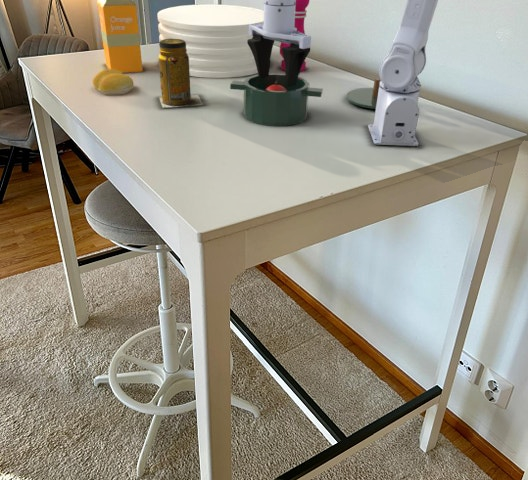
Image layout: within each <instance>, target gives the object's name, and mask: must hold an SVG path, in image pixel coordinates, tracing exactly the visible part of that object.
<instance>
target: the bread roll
mask: <svg viewBox="0 0 528 480" xmlns="http://www.w3.org/2000/svg"><path fill="white" fill-rule="evenodd" d="M92 85H93V87H94V89H95V90H96V91H98V92H100V93H101V94H104V95H107V96H110V95H113V96H114V95H116V96H117V95H124V94H127V93H129V92H131V91H132V90H133V89H134V80H133V79H132V77H131V76H129V75H128V74H124V73H121V72H119V71H117V70H114V69H108V68H105V69H102V70H100V71H99V72H97V73H96V74H95V75H94V77H93V78H92Z"/></svg>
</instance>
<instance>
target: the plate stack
mask: <svg viewBox="0 0 528 480" xmlns="http://www.w3.org/2000/svg"><path fill="white" fill-rule="evenodd" d="M157 22H158V24H157V27H158V33H159V36H158V40H159V42H160V41H161V40H164V39H181V40H184V41H185V42H186V49H187V52H186V53H187V55H188V57H189V73H190V77H195V78H208V79H212V78H213V79H224V78H225V79H227V78H240V77H246V76H253V75H257V74H258V71H257V67H256V63H255V59H254V56H253V54H252V51H251V49H250V47H249V45H248V44H247V40H248V39H252V37H253V36H250V35H249V24H255V23H257V24H264V9H263V10H262V9H260V8H255V7H250V6H243V5H233V4H213V3H212V4H211V3H210V4H207V3H206V4H185V5H177V6H171V7H168V8H163V9H161V10H159V11H158V12H157Z"/></svg>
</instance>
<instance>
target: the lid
mask: <svg viewBox="0 0 528 480" xmlns="http://www.w3.org/2000/svg"><path fill="white" fill-rule="evenodd" d="M373 81H374V82H373V87H361V88H354V89H351V90H349V91H348V92H346V94H345V99H346V100H347V101H348V102H349V103H350V104H352V105H355V106H358V107H362V108H366V109H372V110H376V105H377V98H378V91H379V85H380V81H381V79H380V76H378V77H375V78H374V80H373Z"/></svg>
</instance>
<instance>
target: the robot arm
mask: <svg viewBox="0 0 528 480" xmlns="http://www.w3.org/2000/svg"><path fill="white" fill-rule="evenodd" d="M438 2H439V0H406V3H405V6H404V10H403V14H402V18H401V21H400V24H399V27H398V30H397V32H396V34H395V36H394V39H393V41H392V43H391V47H390V50H389V51H388V53H387V55H386V56H385V57H384V58H383V60H382V61H381V63H380V65H379V70H378V73H379V74H378V75H379V77H380V79H381V81H380V85H379V91H378V98H377V105H376V109H375V112H374V119H373V124H371V123H370V124H368V125H367V128H368V131H369V133H370V136H371V139H372V142H373V144H374V145H379V146H402V147H418V146H419V143H420V142H418V139H417V138H416V131H417V127H418V122H419V121H418V120H419V115H420V108H419V104H418V103H419V97H420V92H421V86H422V84H421V81H420V79H419V77H418V76H419V75H420V74H422V72H423V71H424V69H425V67H426V64H427V54H426V47H427V43H428V40H429V30H430V27H431V25H432V21H433V18H434V16H435V12H436V8H437V6H438ZM295 5H296V0H263V11H264V24H257V23H255V24H249V35H250V36H253V37H252V39H248V40H247V44H248V45H249V47H250V49H251V51H252V54H253V56H254V59H255V63H256V67H257V71H258V73H257V75H258V76H259V78H264V77H268V76H269V74H270V71H271V70H270V69H271V57H272V52H273V47H274V45H275V42H277V43H281V42H282V43H286V44H290V47H284V48H282V53H283V57H284V62H285V70H284V72H285V73H284V74H285V83H286V86H287V87H291V86H295V85H296V82H297V79H298V77H300V76H299V75H300V73H301V71H300V70H301V67H302V65H303V63H304V61H305V62H306V59H307V57H308V56H309V54H310V52H311V43H312V36H311V35H308V34H306V33H305V34H303V33H301V32H299V31H297V28H294V24H295ZM283 57H282V58H283Z"/></svg>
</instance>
